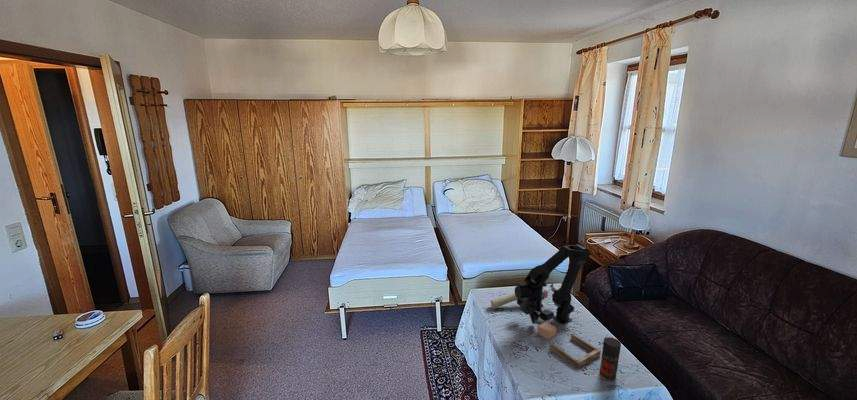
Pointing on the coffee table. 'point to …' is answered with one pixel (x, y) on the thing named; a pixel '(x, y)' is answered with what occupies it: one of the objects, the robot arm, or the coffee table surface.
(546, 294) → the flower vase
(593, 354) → the bay
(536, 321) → the pad
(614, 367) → the deodorant
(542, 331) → the terracotta block
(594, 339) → the coffee table surface
